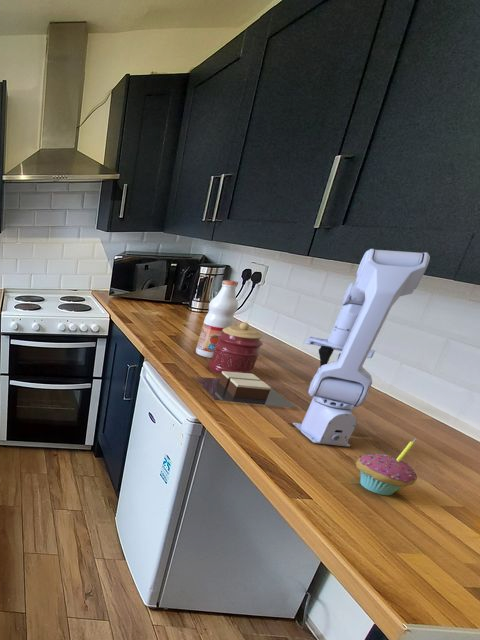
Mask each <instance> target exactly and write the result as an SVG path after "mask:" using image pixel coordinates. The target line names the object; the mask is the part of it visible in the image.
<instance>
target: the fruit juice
mask: <svg viewBox="0 0 480 640" xmlns="http://www.w3.org/2000/svg"><path fill="white" fill-rule="evenodd" d="M238 285H239V282H238V281H236V280H229V279H228V280H227V279H223V280H222V282H221V288H220V290H219V291H218V293H217V294H216V295H215V296H214V297H213V298H212V299H210V301H209V304H208V311H207V313H206V315H205V317H204V320H203V322H202V327H201V330H200V333H199V336H198V341H197V344H196V348H195V354H196V355H198V356H200V357H203V358H208V359H211V358H212V355H213V352H214V348H215V344H216V343H217V342H218V340H219V339H218V335H219V334H222V333H223V331H222V330H223V329H224V328H227V327H229V326H234V322H235V316H234V315H235V314H236V312H237V311H238V308H239V302H238V300H237V297H236V289H237V287H238Z"/></svg>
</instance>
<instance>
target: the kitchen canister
mask: <svg viewBox="0 0 480 640" xmlns="http://www.w3.org/2000/svg"><path fill="white" fill-rule="evenodd" d="M222 331H223V333H222V334H219V335H218V339H219V340H218V342H217V343H216V344H215V348H214V352H213V355H212V358H210V361H209V363H208V368H209V369H210V370H211V371H212V372H214V373H216V374H219V375H221V374H222V371H227V372H238V373H250V374H254V368H255V366H256V362H257V360H258V357H259V355H260V347H261V346H263V345H264V342H263V341H262V339H261V338H263V334H262V333H260V332H259V331H258V330H257V329H255V328H252V327H250V324H249V323H248V322H245V321H243V322H240V323H239V325H233V326H229V327H227V328H224V329H223V330H222Z"/></svg>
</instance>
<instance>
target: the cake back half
mask: <svg viewBox="0 0 480 640" xmlns="http://www.w3.org/2000/svg"><path fill="white" fill-rule="evenodd" d="M219 379H220V380H219V383H220V384H221V385H222V386H223V387H224V388H225V389H227V388H228V385H229V382H230V379H242V380H254V381H261V379H260V378H259V377H258V376H257V375H256V374H254V373H252V374H250V373H238V372H227V371H222V374H220V377H219Z"/></svg>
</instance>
